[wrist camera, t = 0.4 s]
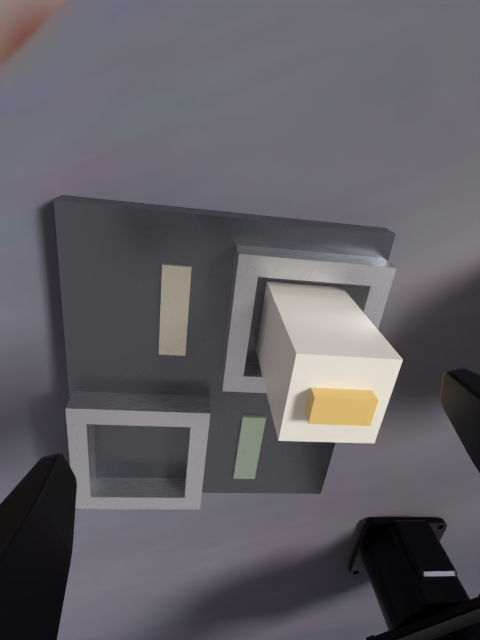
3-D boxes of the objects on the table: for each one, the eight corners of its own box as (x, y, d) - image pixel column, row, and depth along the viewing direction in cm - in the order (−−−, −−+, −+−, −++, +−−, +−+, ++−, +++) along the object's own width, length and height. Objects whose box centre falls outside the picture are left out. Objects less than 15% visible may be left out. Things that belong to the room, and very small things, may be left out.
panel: (316, 479, 29) (326, 512, 27) (81, 476, 27) (69, 511, 24) (385, 228, 21) (409, 242, 19) (61, 195, 19) (41, 206, 17)
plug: (326, 353, 23) (380, 454, 16) (255, 350, 22) (281, 452, 16) (342, 287, 21) (410, 369, 14) (266, 281, 21) (300, 362, 14)
